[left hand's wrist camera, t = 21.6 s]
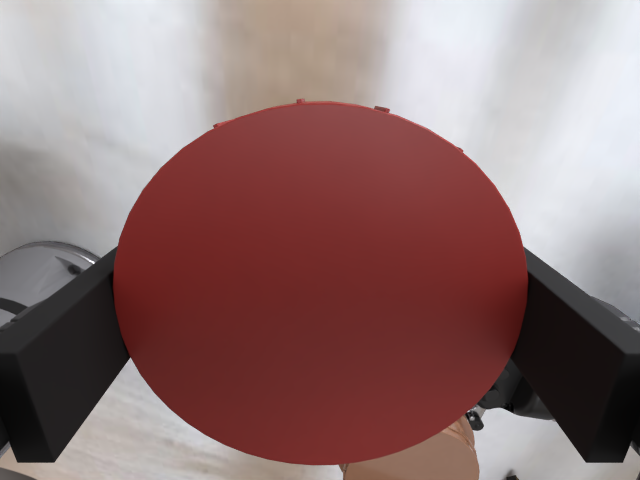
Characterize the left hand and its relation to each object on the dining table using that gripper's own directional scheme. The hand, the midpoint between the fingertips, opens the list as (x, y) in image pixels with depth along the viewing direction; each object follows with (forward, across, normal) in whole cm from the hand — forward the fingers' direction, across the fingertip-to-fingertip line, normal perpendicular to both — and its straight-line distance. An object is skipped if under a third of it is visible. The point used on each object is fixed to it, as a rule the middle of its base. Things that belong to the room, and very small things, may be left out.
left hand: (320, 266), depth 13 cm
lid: (-3, 0, 0) cm, 3 cm away
